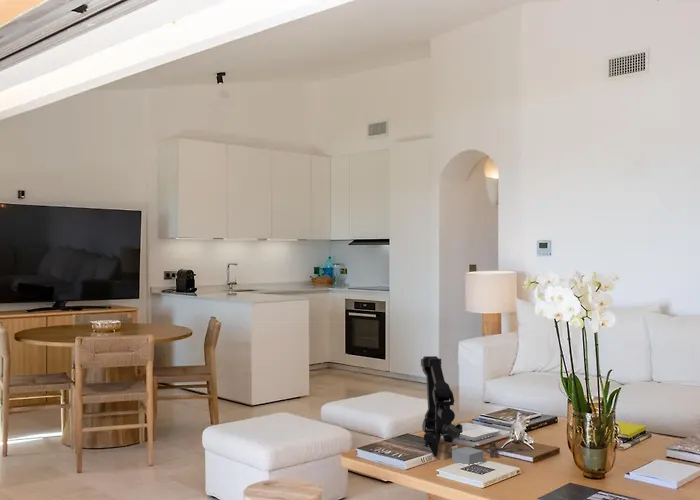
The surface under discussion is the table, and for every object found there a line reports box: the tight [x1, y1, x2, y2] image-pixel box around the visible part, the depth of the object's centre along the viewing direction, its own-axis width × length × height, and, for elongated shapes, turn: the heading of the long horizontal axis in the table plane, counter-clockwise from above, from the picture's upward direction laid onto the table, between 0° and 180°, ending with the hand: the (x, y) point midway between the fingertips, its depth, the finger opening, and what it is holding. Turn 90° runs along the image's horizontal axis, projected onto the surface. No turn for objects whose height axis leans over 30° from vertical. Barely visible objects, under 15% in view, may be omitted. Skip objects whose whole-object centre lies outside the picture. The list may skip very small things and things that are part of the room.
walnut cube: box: [431, 439, 453, 461], centre depth 298 cm, size 6×6×6 cm
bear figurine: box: [471, 441, 512, 459], centre depth 304 cm, size 18×4×14 cm
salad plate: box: [454, 422, 502, 442], centre depth 333 cm, size 21×21×3 cm
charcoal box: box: [451, 445, 484, 465], centre depth 291 cm, size 9×9×5 cm
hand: (441, 454), depth 298 cm, fingers open, 9 cm apart
